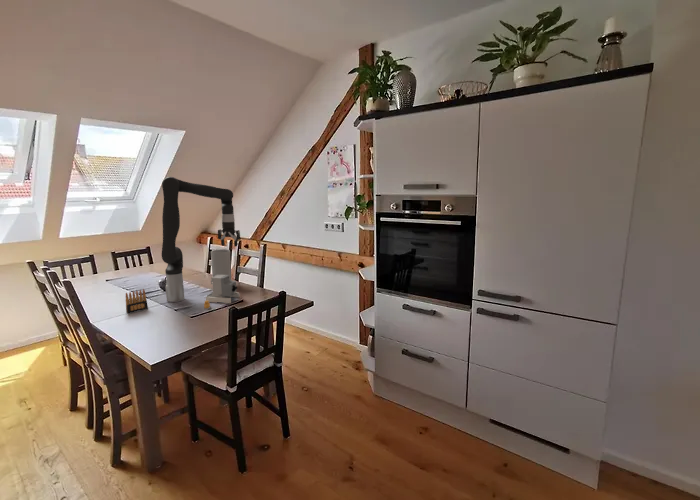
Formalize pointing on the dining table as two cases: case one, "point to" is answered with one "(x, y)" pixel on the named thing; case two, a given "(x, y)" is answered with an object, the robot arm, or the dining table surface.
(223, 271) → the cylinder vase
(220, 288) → the circuit breaker
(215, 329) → the dining table surface
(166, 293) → the robot arm
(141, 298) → the ammunition clip
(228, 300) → the panel slot
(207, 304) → the orange wire nut
